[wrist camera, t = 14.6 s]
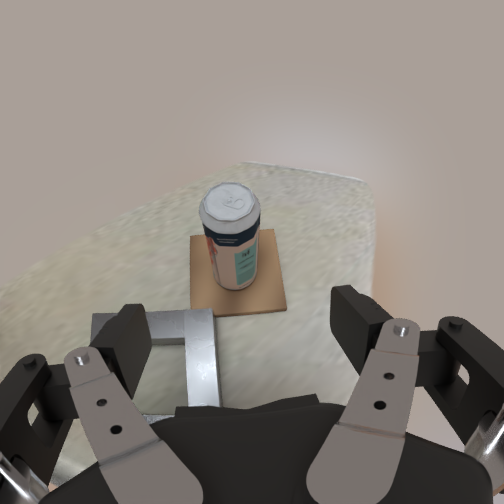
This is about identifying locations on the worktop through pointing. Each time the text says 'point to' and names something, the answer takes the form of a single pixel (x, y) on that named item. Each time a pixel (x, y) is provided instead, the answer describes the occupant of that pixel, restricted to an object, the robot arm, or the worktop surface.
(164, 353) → the worktop surface
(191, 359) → the metal collar
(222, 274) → the beer can
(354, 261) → the worktop surface
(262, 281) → the walnut coaster
